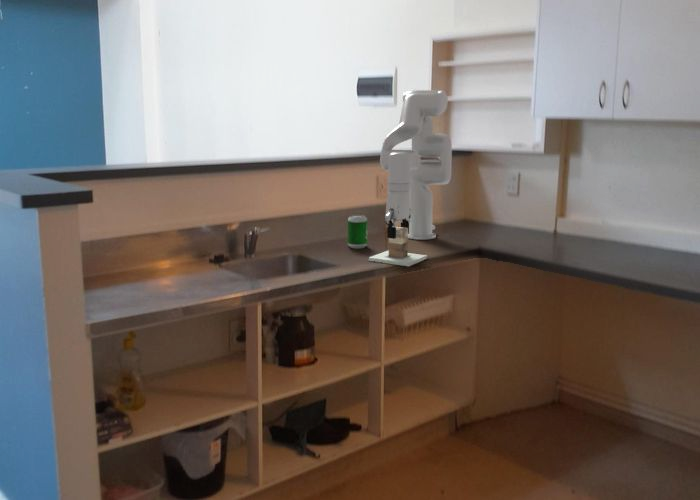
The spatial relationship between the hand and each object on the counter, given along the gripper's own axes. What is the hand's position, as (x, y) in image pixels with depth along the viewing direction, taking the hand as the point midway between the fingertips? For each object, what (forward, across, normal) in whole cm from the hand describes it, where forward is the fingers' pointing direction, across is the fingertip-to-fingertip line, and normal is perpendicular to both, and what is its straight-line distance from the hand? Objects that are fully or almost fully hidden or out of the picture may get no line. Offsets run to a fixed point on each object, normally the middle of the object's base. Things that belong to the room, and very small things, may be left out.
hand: (398, 235), depth 252 cm
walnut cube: (+7, 0, 0) cm, 7 cm away
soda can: (+9, -11, -24) cm, 28 cm away
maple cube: (+2, 0, 0) cm, 2 cm away
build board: (+9, 0, 0) cm, 9 cm away
